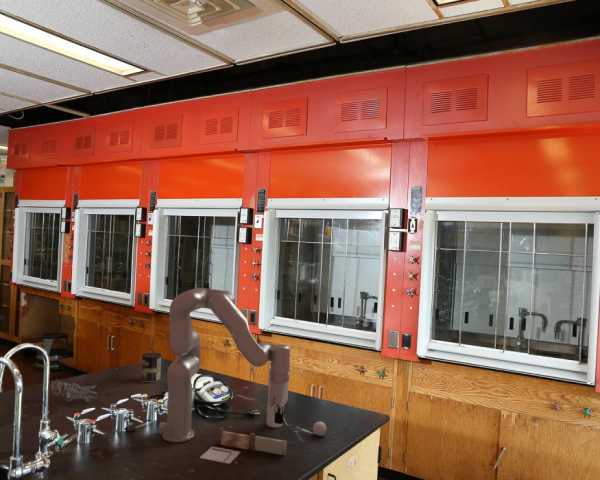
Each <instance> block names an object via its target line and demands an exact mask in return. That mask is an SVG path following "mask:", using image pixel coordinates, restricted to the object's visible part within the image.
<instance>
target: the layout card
mask: <svg viewBox="0 0 600 480" xmlns="http://www.w3.org/2000/svg"><path fill="white" fill-rule="evenodd" d="M240 454H241V451H239V450H234V449H228V448H223V447H217V446H210V447H209V449H208V450H206V451H205V452H204V453H203V454H202V455H200V457H199V459H201V460H208V461H210V462H211V461H213V462H218V463H221V464H227V465H231V463H233V461H234V460H235V459H236V458H237V457H238V456H240Z"/></svg>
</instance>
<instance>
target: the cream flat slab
mask: <svg viewBox="0 0 600 480" xmlns="http://www.w3.org/2000/svg"><path fill="white" fill-rule="evenodd" d="M254 451H259V452H264V453H269V454H275V455H281V456H286V455H287V440H285V439H284V440H282V439H276V438H271V437H266V436H265V437H264V436H259V435H255V446H254Z"/></svg>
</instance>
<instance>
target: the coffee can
mask: <svg viewBox="0 0 600 480" xmlns="http://www.w3.org/2000/svg"><path fill="white" fill-rule="evenodd" d="M162 356H163V355H162V354H161V353H159V352H146V353H143V354H141V372H140V373H141V375H140V376H141V377H140V381H141V380H142V381H156V380H159V379H160V380H161V372H162V371H161V366H162ZM142 381H141V382H142Z"/></svg>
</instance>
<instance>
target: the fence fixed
mask: <svg viewBox="0 0 600 480" xmlns="http://www.w3.org/2000/svg"><path fill="white" fill-rule="evenodd" d="M255 437H256V433H254V432H251V433H249V435H248V434H243V433H239V432H231V431H226V430H224V428H223V427H218V429H217V442H216V443H217V445H218V446H220V445H222V446H226V447H233V448H237V449H243V450H249V451H252V452H253V451H255Z"/></svg>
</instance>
